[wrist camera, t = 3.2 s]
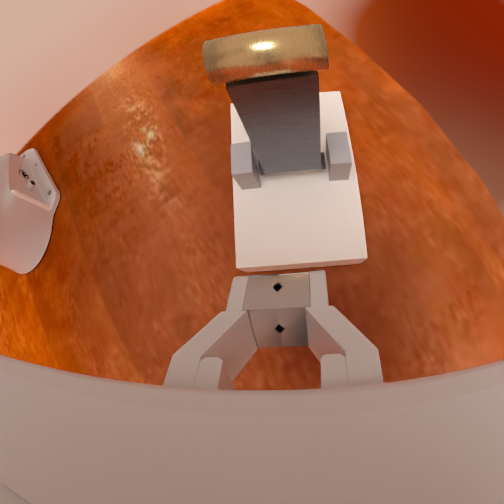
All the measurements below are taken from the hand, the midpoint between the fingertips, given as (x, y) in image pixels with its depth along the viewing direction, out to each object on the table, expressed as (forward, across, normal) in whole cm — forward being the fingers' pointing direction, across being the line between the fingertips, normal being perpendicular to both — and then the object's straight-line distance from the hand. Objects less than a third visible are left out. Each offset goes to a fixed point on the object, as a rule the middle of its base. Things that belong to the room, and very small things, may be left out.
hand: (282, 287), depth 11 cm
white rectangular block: (+24, 0, +7) cm, 25 cm away
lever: (+20, 0, +3) cm, 20 cm away
